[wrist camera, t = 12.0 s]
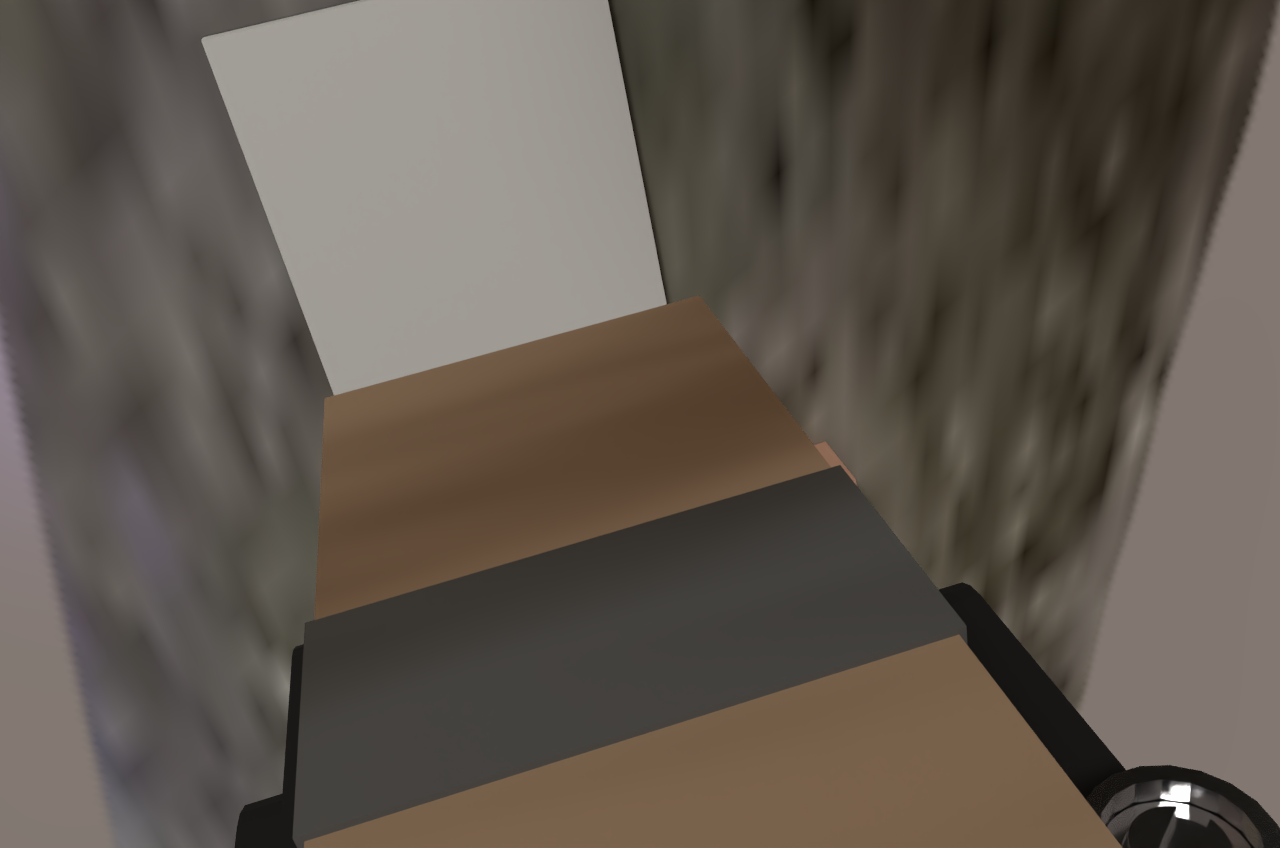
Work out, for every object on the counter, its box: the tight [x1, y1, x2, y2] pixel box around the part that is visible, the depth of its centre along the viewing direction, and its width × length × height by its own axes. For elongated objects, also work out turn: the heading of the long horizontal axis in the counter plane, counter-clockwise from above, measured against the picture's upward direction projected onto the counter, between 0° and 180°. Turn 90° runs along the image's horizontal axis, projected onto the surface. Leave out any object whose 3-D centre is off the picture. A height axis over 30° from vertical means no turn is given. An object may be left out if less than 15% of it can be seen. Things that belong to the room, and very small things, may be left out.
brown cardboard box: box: [292, 296, 1122, 848], centre depth 10 cm, size 6×4×8 cm
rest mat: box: [201, 0, 667, 395], centre depth 27 cm, size 9×9×1 cm
